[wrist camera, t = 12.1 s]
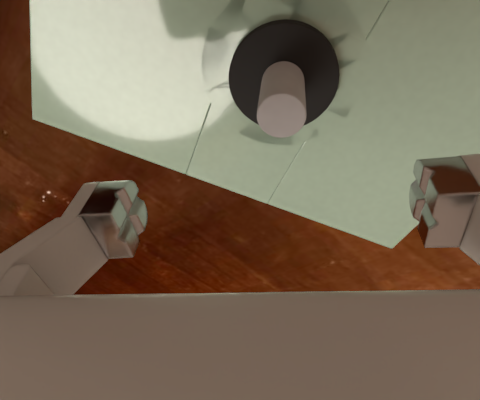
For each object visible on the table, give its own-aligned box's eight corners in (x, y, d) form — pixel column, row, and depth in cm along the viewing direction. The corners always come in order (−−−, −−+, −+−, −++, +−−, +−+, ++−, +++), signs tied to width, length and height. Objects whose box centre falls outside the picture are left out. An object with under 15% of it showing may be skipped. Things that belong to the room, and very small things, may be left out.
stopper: (221, 86, 20) (201, 143, 16) (257, -12, 17) (244, 26, 12) (305, 120, 21) (308, 184, 17) (354, 33, 18) (376, 84, 13)
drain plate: (53, 99, 22) (31, 119, 21) (61, -306, 12) (19, -340, 10) (384, 223, 26) (392, 249, 24) (606, -6, 16) (647, 9, 14)
